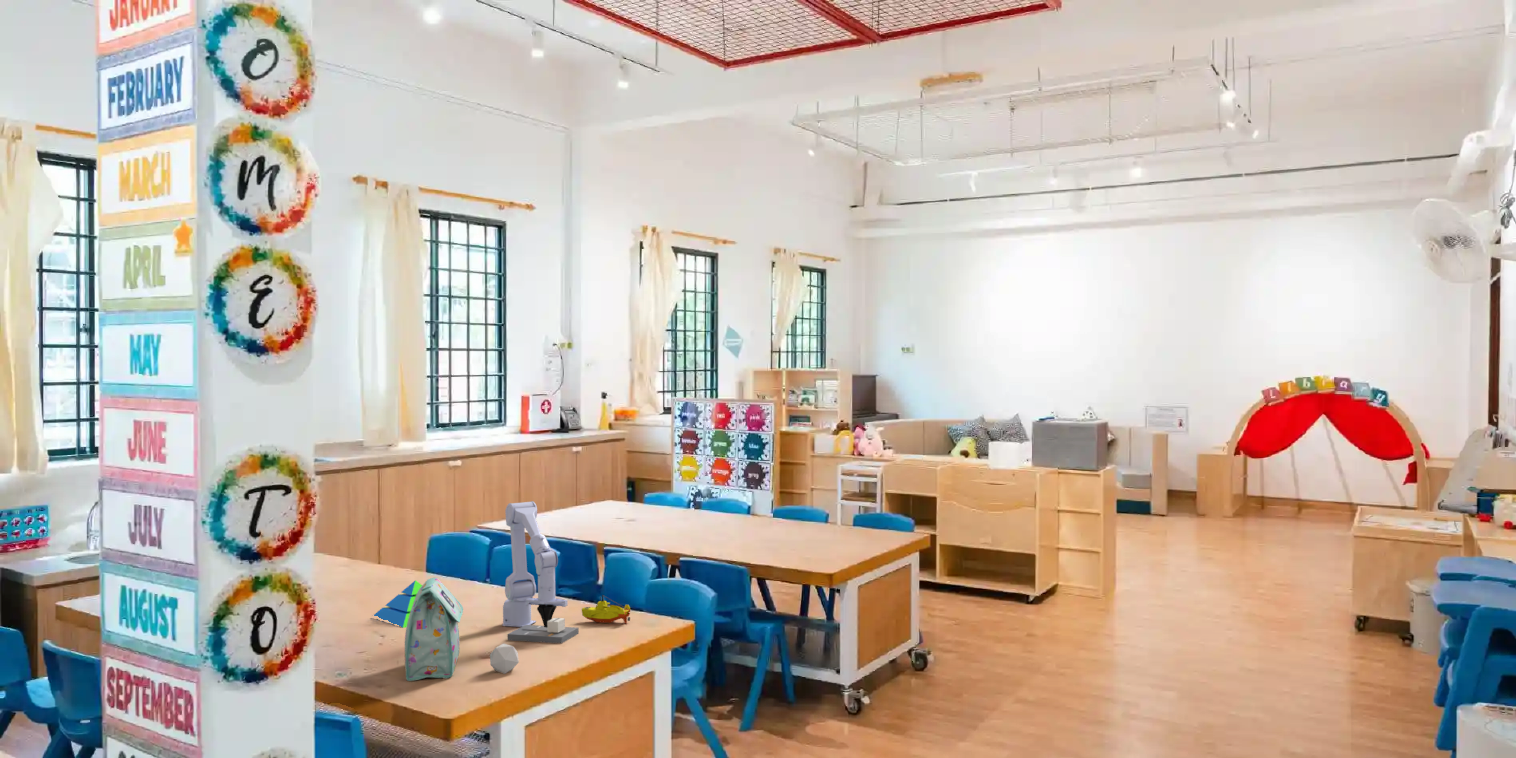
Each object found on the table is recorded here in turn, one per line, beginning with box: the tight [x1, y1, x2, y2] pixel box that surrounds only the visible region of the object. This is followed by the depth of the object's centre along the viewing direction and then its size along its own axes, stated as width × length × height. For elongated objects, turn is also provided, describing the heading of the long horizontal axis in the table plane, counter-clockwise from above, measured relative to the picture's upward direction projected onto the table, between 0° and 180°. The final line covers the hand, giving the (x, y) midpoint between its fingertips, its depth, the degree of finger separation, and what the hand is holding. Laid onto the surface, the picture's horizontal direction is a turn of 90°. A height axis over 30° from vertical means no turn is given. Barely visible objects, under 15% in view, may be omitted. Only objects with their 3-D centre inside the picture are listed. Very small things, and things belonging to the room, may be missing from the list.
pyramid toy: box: [373, 580, 423, 629], centre depth 370 cm, size 25×25×14 cm
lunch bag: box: [404, 577, 464, 682], centre depth 301 cm, size 23×16×27 cm
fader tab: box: [547, 617, 566, 633], centre depth 337 cm, size 4×5×4 cm
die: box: [489, 642, 520, 675], centre depth 299 cm, size 8×9×10 cm
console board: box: [506, 624, 580, 644], centre depth 338 cm, size 20×13×2 cm, turn 75°
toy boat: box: [581, 594, 631, 624], centre depth 357 cm, size 6×18×10 cm, turn 78°
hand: (547, 626), depth 338 cm, fingers closed
